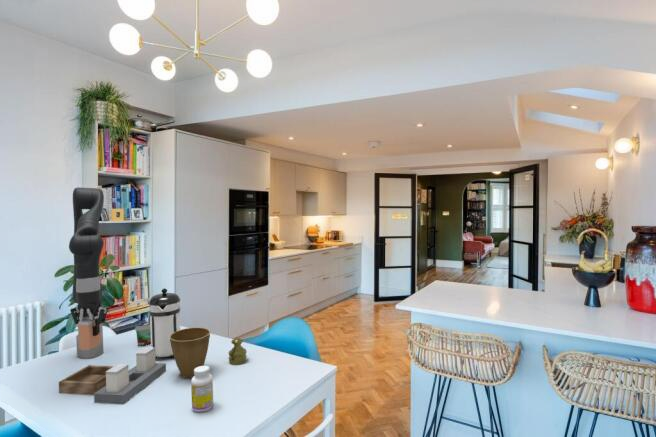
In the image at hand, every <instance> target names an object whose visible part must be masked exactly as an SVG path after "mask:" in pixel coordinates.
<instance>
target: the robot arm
mask: <svg viewBox="0 0 656 437" xmlns="http://www.w3.org/2000/svg"><path fill="white" fill-rule="evenodd" d="M104 196H105V195H104V191H103V190H102V189H101V188H95V187H75V188H74V189H73V192H72V209H73V210H72V211H73V235H72V237H71V238H70V239H69V242H68V249H69V252H70V253H71V254H73V279H72V280H73V281H72V300H73V302H74V303H75V304H77V306H76V307H73V308H71V309H70V310H69V311H70V313H71V317H72V319H73V322H74V324H75V325H78V322H80V321H83V320H85V319H88V318H90V320H91V321H92V325H93V336H96V335H98V334H99V332H100V327H99V325H100V324H101V344H100V345H98V346H96V347H94V348H92V349H90V350H83V349H79V329H78V328H77V332H78V333H77V335H76V336H75V337H76V339H75V340H76V357H77V358H79V359H91V358H92V359H93V358H96V357H98V356H101V355H103V354H104V335H103V334H104V333H103V332H104V328H103V324H104V323H105V321H106V319H107V314H108V310H109V308H108V307H103V284H102V282H101V280H100V267H99V266H100V260H101V254H102V251H103V249H104V239H103V237H101V236H100V235H99V228H100V227H99V226H100V225H99V223H100V219H101V215H102V213H103V208H104V204H105V202H104V199H105V197H104ZM83 210H87V211H85V212H84V213H83ZM95 319H96V321H95Z"/></svg>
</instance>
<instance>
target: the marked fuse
mask: <svg viewBox="0 0 656 437" xmlns="http://www.w3.org/2000/svg"><path fill="white" fill-rule="evenodd" d="M95 321H96V319H95ZM99 327H100V332H99V334H98V335H96V336H93V325H92V321H91V320H90V318H88V319H85V320H83V321H80V322H78V324H77V330H78V329H79V349H83V350H90V349H92V348H94V347H96V346H98V345H100V344H101V324H100V325H99Z"/></svg>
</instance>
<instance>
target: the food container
mask: <svg viewBox="0 0 656 437" xmlns="http://www.w3.org/2000/svg"><path fill="white" fill-rule="evenodd" d="M135 331H136V341H137V347H147V346H151V345H150V344H151V330H150V321H148V322H145V323H143V324H142V325H136V326H135V329H134V332H135ZM146 345H147V346H146Z"/></svg>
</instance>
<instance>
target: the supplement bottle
mask: <svg viewBox="0 0 656 437" xmlns="http://www.w3.org/2000/svg"><path fill="white" fill-rule="evenodd" d="M194 374H195V376H194V377H191V380H190V386H191V409H192V410H193V411H194V412H196V413H204V412H208V411H209V410H210V409H212V408H213V407H214V385H213V384H214V383H213V382H214V381H213V380H214V378H213V375H212V374H211V373H210V366H209V365H204V366H199V367H197V368H195V369H194Z"/></svg>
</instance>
